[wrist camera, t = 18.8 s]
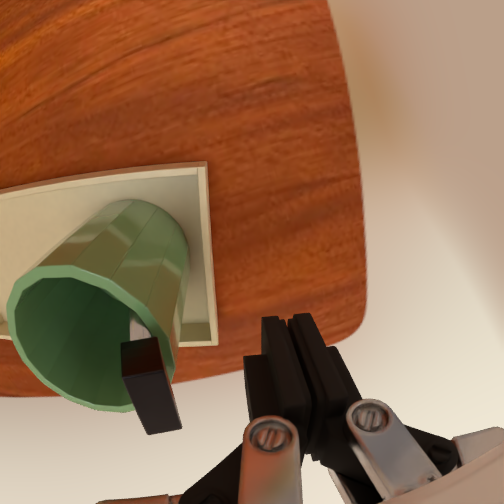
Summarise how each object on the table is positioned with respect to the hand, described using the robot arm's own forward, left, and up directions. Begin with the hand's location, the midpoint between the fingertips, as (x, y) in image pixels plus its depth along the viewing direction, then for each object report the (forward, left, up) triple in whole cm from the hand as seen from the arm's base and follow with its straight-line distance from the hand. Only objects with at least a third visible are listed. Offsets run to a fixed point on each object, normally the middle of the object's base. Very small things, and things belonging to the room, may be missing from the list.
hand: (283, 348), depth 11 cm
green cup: (+7, 0, -9) cm, 12 cm away
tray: (+12, 0, -10) cm, 15 cm away
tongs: (+7, 0, -8) cm, 11 cm away
